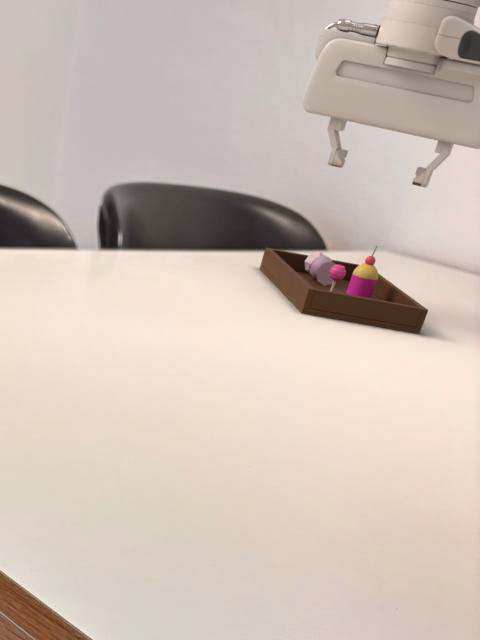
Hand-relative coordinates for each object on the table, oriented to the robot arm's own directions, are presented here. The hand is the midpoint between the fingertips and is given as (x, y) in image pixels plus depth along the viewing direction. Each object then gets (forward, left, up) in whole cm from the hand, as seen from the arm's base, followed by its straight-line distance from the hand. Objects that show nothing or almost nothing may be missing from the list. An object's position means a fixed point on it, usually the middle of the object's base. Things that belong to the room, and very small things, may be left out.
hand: (376, 176), depth 117 cm
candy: (0, -1, -13) cm, 13 cm away
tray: (0, 0, -14) cm, 14 cm away
